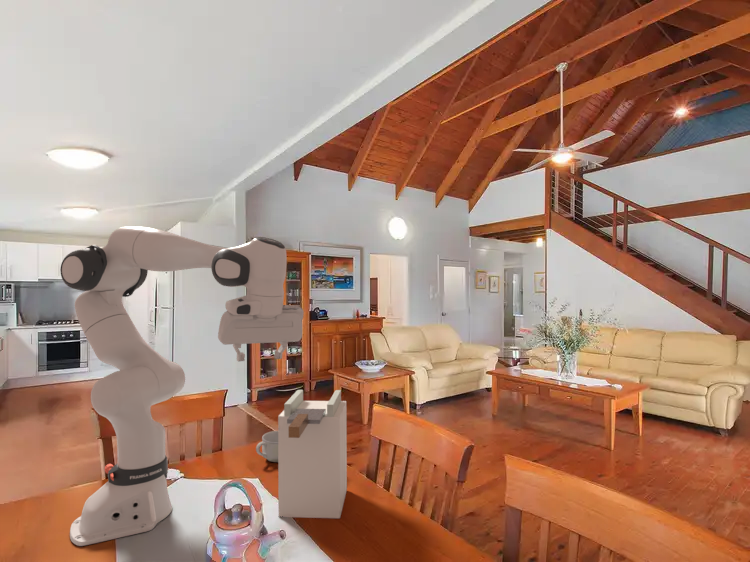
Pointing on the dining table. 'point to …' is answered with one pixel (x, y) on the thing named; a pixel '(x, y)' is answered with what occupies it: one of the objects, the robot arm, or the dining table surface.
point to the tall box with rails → (313, 461)
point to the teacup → (269, 446)
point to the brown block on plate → (303, 420)
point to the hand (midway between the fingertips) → (259, 359)
